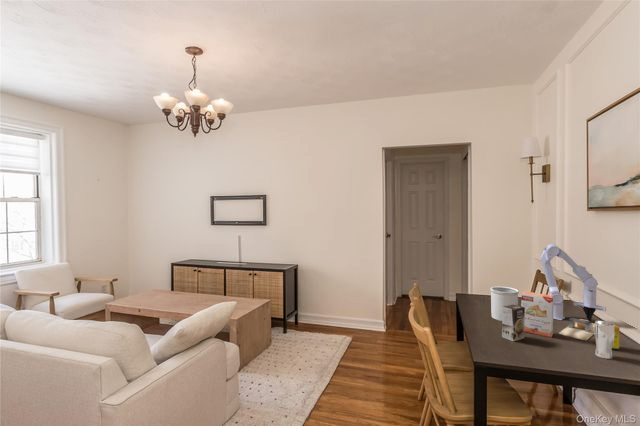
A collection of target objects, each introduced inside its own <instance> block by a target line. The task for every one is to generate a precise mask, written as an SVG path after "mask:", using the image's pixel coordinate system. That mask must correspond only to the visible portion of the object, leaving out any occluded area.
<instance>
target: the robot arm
mask: <svg viewBox="0 0 640 426" xmlns="http://www.w3.org/2000/svg"><path fill="white" fill-rule="evenodd" d="M555 257H557V258H561V259H562V260H564V261H565V262H566V263H567V265H569V266H570V267H571V268H572V272H573V274H574V275H576V277H577V278H578V279H580V280H581V281H582V283H583V286H584V287H583V302H579V301H574V302H573V306H574V307H576V306H577V307H582V310H583V312H584V314H585V317H586V320H589V322H592V318H593V316H594V313H595V312H596V311H597V310H598V311H603V312H606V311H607V307H605V306H601V305H598V304H597V286H598V285H599V283H598V280H597V279H596V278H595V277H594V276H593V274H592V273H590V272H589V271H588V270H587V268H586V266H583V265H579V264H577V263H576V262H575V261H574V259H572V258H571V257H570V255H568V253H567V252H566V251H564V250H562V248H560V247H559V246H557V245H556V244H554V243H548V244H547V245H546V246H545V247H544V249H543V251H542V254H541V255H540V258H539V259H540V263H541V266H542V269H543V273H544V277H545V280H546V283H547V286H548V290H549V293H548V295H552V296H554V311H553V320H558V321H563V320H564V319H565V318H566V316H564V296H563V295H562V294H561V292H560V290H559V286H558V282H557V280H556V277H555V274H554V270H553V267H552V263H551V261H552V260H553V258H555Z"/></svg>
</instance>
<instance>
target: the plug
mask: <svg viewBox="0 0 640 426" xmlns="http://www.w3.org/2000/svg"><path fill="white" fill-rule="evenodd" d="M579 319H580V320H585V321H589V320H587V319H582V318H579ZM589 322H590V321H589ZM577 327H581V328H585V324H582V323H578V322H577Z"/></svg>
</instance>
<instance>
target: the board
mask: <svg viewBox="0 0 640 426" xmlns="http://www.w3.org/2000/svg"><path fill="white" fill-rule="evenodd" d="M594 327H595V322H594V323H593V322H591V331H590V332H585V328H581V327H577V322H575V327H574V328H573V329H572V328H569V325H567V326H566V327H565V328H563V329H562V330H561V331H559V332H557V334H558V335H562V336H564V337H569V338H574V339H579V340H582V341H585V342H587V341H588V340H589V339H590V338H591V337H592V336H593V335H594ZM594 336H595V335H594Z"/></svg>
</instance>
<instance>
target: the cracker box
mask: <svg viewBox="0 0 640 426" xmlns="http://www.w3.org/2000/svg"><path fill="white" fill-rule="evenodd" d="M520 306H522V307H525V322H524V333H529V334H532V335H538V336H542V337H546V338H553V334H554V332H553V331H554V319H553V311H554V296H552V295H549V294H543V293H538V292H532V291H525V290H524V291H522V292H521V304H520Z"/></svg>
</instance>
